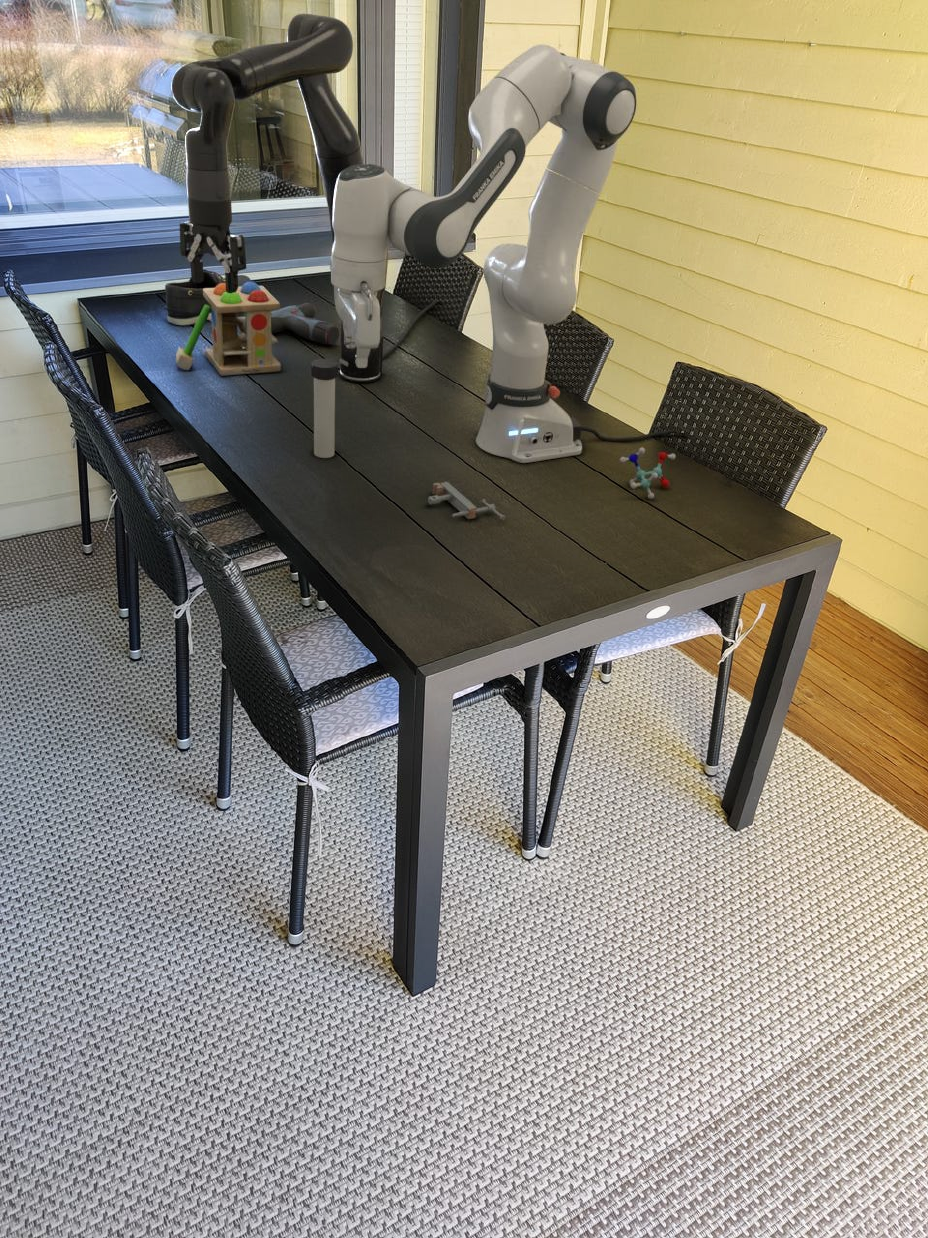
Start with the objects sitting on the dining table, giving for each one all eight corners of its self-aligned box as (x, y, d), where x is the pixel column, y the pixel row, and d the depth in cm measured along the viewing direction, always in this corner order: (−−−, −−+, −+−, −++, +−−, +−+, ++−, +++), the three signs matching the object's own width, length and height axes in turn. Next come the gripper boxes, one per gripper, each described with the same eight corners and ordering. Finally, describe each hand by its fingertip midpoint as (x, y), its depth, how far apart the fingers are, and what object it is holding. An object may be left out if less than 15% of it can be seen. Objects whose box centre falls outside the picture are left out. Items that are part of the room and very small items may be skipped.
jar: (310, 454, 195) (309, 365, 184) (321, 447, 198) (321, 360, 187) (327, 459, 193) (327, 370, 183) (338, 452, 196) (339, 364, 186)
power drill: (365, 313, 253) (305, 296, 261) (318, 330, 240) (256, 311, 248) (364, 334, 256) (305, 316, 264) (318, 351, 243) (257, 332, 251)
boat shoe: (273, 303, 272) (271, 265, 267) (185, 327, 248) (181, 285, 243) (238, 295, 278) (236, 257, 272) (149, 317, 254) (144, 276, 249)
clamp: (419, 485, 182) (465, 477, 187) (418, 496, 183) (464, 487, 188) (459, 522, 172) (507, 512, 176) (457, 533, 173) (505, 523, 177)
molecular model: (677, 492, 186) (662, 441, 184) (629, 506, 189) (614, 457, 188) (684, 485, 196) (670, 436, 195) (639, 499, 200) (624, 451, 198)
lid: (306, 376, 185) (306, 363, 184) (320, 368, 189) (320, 356, 188) (328, 382, 184) (328, 369, 182) (342, 374, 187) (342, 362, 186)
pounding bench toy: (183, 379, 220) (176, 299, 210) (169, 357, 231) (162, 280, 221) (282, 371, 230) (280, 294, 220) (264, 350, 240) (262, 276, 230)
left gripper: (254, 199, 174) (257, 291, 183) (196, 184, 180) (201, 275, 189) (223, 204, 168) (228, 300, 177) (164, 189, 174) (172, 282, 183)
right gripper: (391, 292, 152) (387, 378, 160) (364, 257, 168) (361, 336, 176) (351, 292, 151) (348, 378, 158) (328, 256, 167) (326, 336, 174)
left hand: (214, 287), depth 183 cm, fingers open, 8 cm apart
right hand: (355, 356), depth 167 cm, fingers open, 8 cm apart
